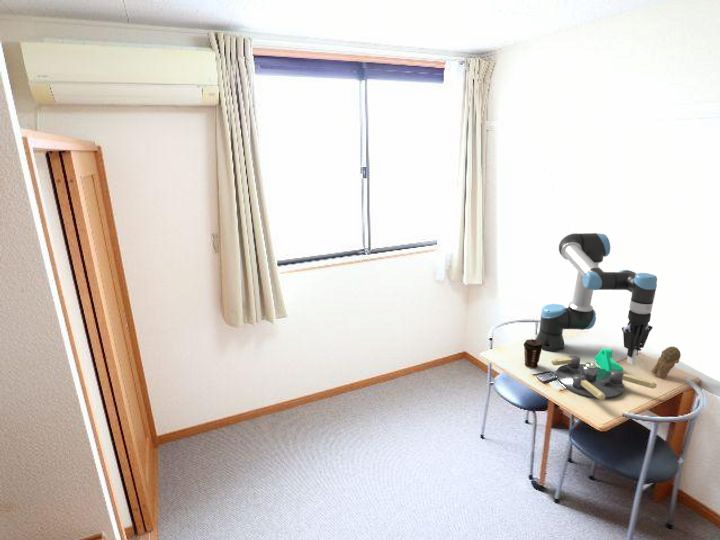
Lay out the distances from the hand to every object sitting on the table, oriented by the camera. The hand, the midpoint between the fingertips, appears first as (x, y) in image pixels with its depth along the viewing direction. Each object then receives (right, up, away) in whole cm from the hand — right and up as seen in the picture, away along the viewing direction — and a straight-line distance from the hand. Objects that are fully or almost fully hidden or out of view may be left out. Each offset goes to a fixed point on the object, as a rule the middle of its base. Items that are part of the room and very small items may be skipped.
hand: (630, 363), depth 175 cm
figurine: (+31, -12, +23) cm, 41 cm away
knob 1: (-14, -15, +7) cm, 22 cm away
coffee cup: (-27, -10, +36) cm, 46 cm away
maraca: (-14, -9, +29) cm, 33 cm away
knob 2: (+8, -13, +12) cm, 19 cm away
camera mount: (+10, -10, +33) cm, 36 cm away
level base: (-7, -14, +20) cm, 25 cm away
